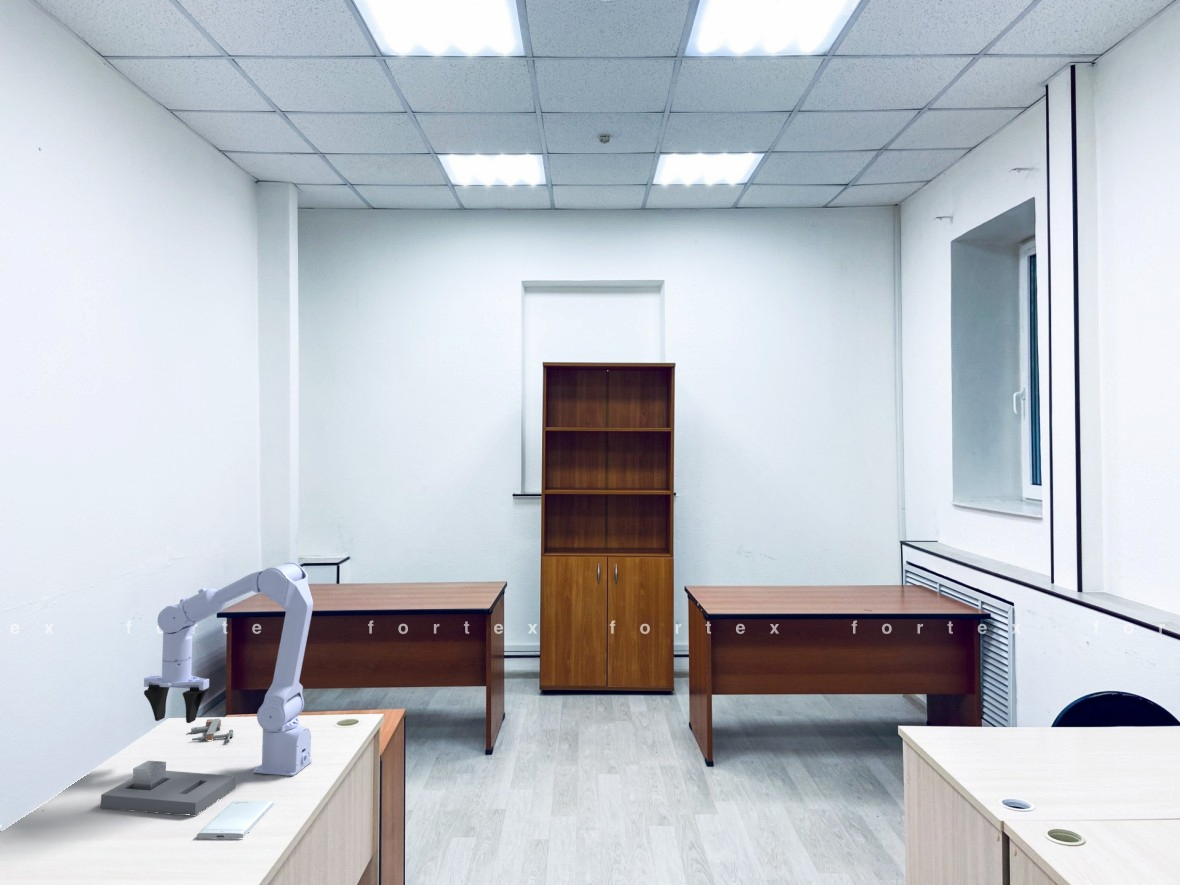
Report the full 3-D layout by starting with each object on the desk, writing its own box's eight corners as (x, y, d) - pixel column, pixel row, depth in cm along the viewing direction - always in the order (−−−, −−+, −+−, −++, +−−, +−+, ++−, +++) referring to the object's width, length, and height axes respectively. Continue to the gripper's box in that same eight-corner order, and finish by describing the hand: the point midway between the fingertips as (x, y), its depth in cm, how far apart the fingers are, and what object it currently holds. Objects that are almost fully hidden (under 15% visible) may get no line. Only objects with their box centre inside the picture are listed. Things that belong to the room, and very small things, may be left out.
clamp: (194, 720, 182) (238, 715, 185) (194, 729, 182) (238, 724, 185) (182, 742, 168) (230, 736, 171) (182, 751, 168) (230, 746, 171)
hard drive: (231, 800, 140) (196, 832, 128) (273, 800, 140) (243, 832, 128) (231, 809, 140) (196, 841, 128) (273, 809, 140) (242, 842, 128)
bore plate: (235, 788, 148) (235, 776, 148) (195, 816, 136) (195, 802, 136) (147, 781, 151) (148, 769, 151) (100, 808, 139) (101, 794, 139)
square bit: (165, 791, 146) (166, 761, 146) (150, 800, 142) (151, 769, 142) (147, 790, 147) (148, 760, 147) (132, 799, 143) (133, 768, 143)
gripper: (134, 661, 158) (132, 724, 157) (194, 665, 155) (192, 728, 155) (157, 653, 165) (156, 713, 164) (216, 656, 162) (214, 717, 162)
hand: (175, 720), depth 160 cm, fingers open, 7 cm apart
